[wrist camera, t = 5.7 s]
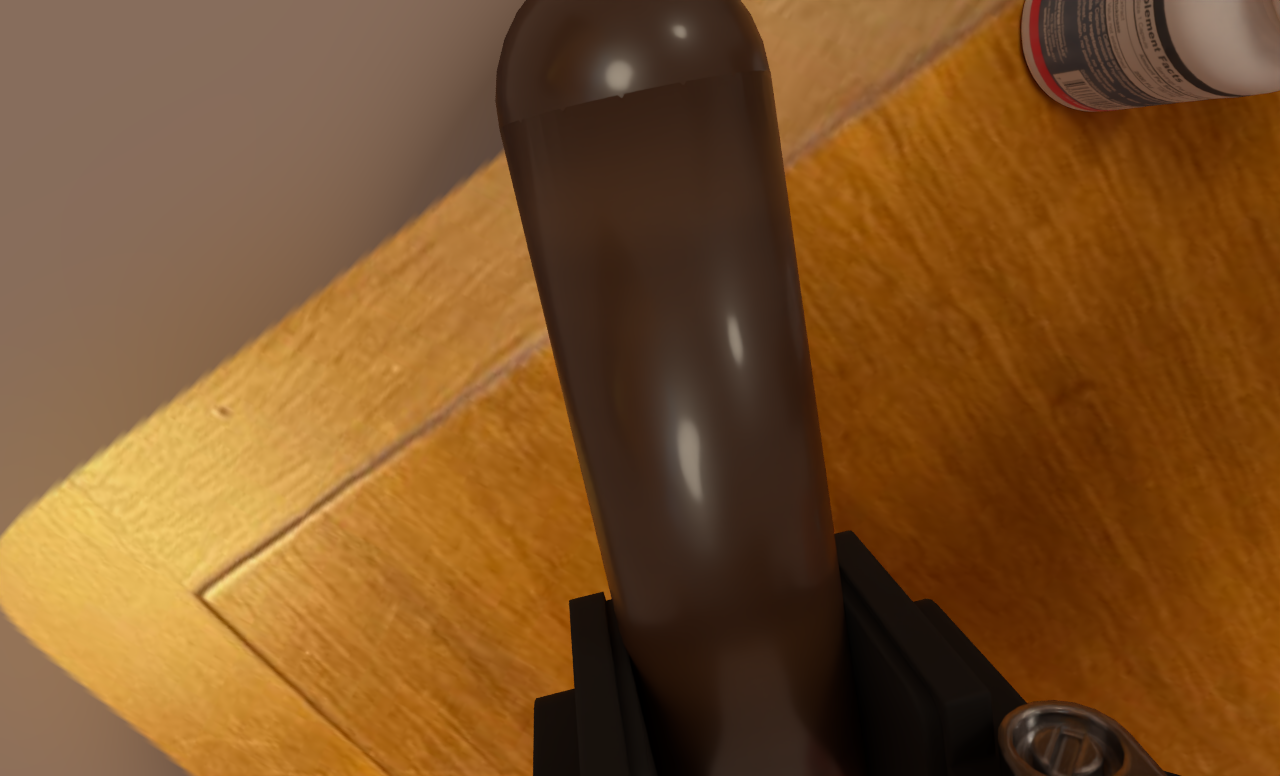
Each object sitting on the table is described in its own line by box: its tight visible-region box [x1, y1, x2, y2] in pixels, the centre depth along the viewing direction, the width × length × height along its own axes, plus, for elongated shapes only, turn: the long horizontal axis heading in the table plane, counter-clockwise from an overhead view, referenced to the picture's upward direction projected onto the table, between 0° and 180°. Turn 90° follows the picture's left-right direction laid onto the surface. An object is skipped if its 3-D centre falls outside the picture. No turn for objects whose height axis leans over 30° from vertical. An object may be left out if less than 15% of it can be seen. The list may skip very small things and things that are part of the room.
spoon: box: [496, 0, 868, 776], centre depth 11 cm, size 19×5×3 cm, turn 11°
